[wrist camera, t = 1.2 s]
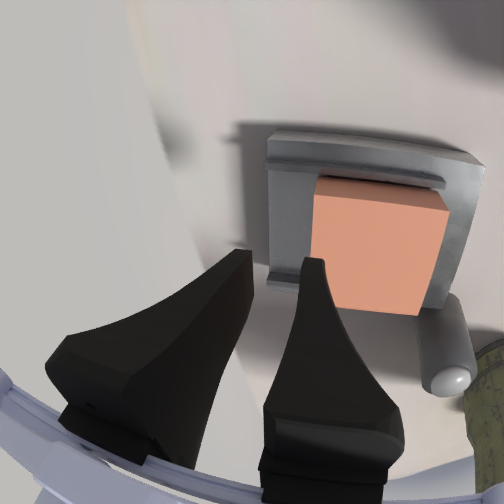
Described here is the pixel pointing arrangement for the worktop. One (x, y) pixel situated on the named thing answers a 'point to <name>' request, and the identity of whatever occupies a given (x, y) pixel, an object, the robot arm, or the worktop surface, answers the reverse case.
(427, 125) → the worktop surface
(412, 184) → the socket plate
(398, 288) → the orange square block
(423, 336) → the plug
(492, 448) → the green stone statue
